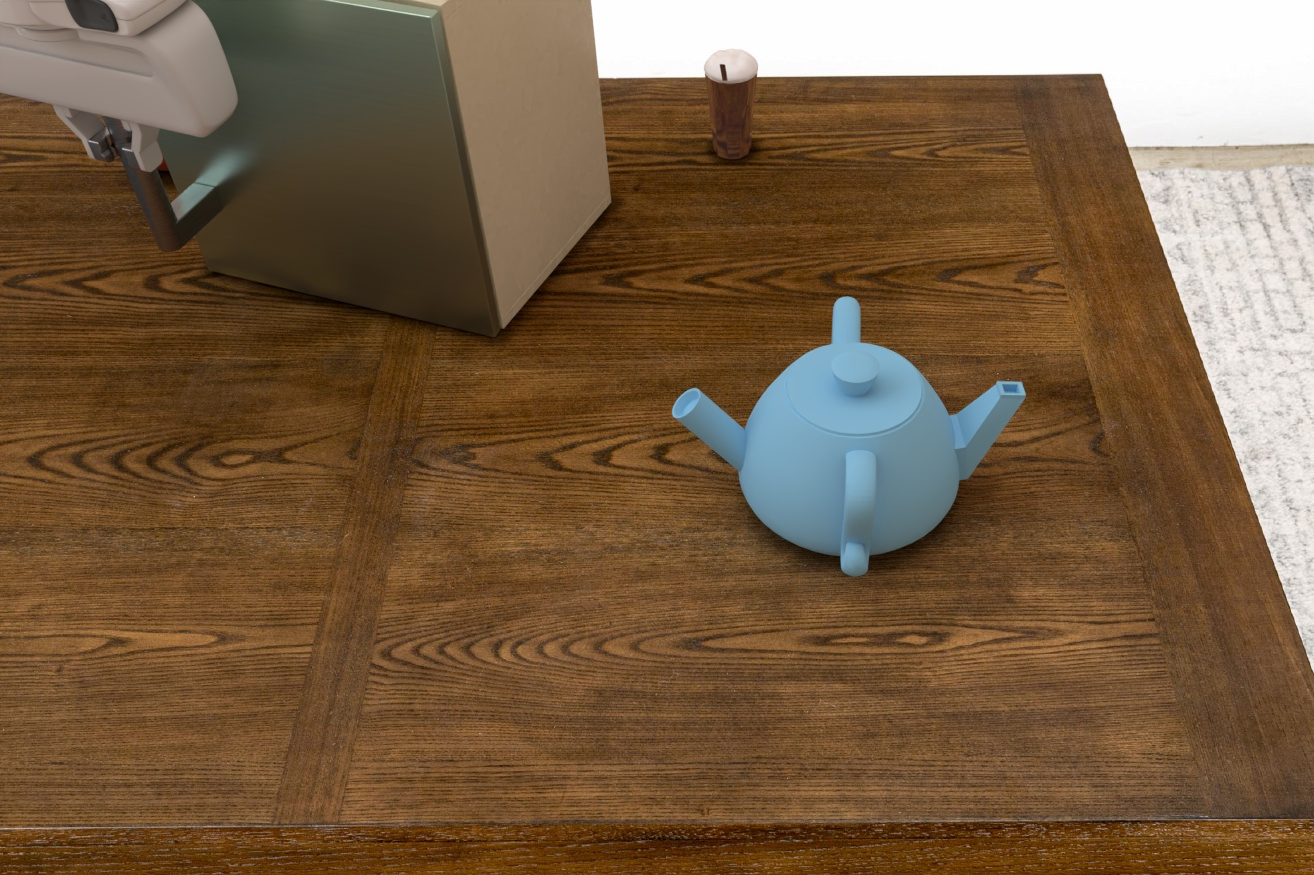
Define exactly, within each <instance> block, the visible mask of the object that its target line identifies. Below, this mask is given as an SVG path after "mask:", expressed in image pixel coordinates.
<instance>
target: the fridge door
mask: <svg viewBox="0 0 1314 875" xmlns="http://www.w3.org/2000/svg"><path fill="white" fill-rule="evenodd" d="M191 1H192V2H194V3H195V4H197V5H198V6H199V7H200V8H201V9H202V10H203V11H204V13H205V14H206V15H207V17H208V18H209V20H210V21H211V23H212V25H213V27H214V29H215V31H216V34H217V36H218V38H219V41H220V43H221V46H222V49H223V51H224V54H225V57H226V59H227V62H228V65H229V68H230V71H231V74H232V77H233V80H234V84H235V87H236V91H237V96H238V103H237V106H236V109H235V111H234V113H233V115H232V116H231V117H230V118H229V119H228V120H227V121H226V122H225V123H223V124H222V125H221V126H220V127H219V128H217V129H216V130H215V131H214V132H213V133H211V134H210V135H208V136H206V137H196V136H192V135H188V134H183V133H179V132H174V131H170V130H165V129H161V128H160V129H159V133H158V138H157V142H158V144H159V147H160V149H161V152H162V154H163V157H164V159H165V162H166V164H167V167H168V169H169V174H170V177H171V180H172V182H173V185H174V187H175V189H176V192H177V194H178V196H176V198H175V199H173V200H172V201H171V200H170V197H169V194H168V193H167V190H166V188H165V185H164V182H163V180H162V178H161V175H160V173H159V170H157V168H156V169H155V170H153V171H152V172H146V171H142V170H138V169H134V168H131V167H130V166H129V164H128V159H127V158H126V157H125V155H124V152H123V150H122V148H123V147H124V146H126V145H127V144H128V143H131V142H132V131H127V130H125V129H124V127H123V124H122V122H121V120H120V119H116V118H111V117H107V116H102V115H101V117H102V120H103V122H104V125H105V126H106V127H107V129H108V131H109V134H110V136H111V138H112V141H113V143H114V145H115V148H116V150H117V152H118V155H119V157H118V158H119V159H120V161H121V164H122V166H123V169H124V171H125V174H126V175H127V178H128V180H129V183H130V185H131V187H132V190H133V192H134V194H135V197H136V199H137V202H138V204H139V207H140V209H141V211H142V213H143V215H144V218H145V220H146V222H147V225H148V228H149V229H150V232H151V234H152V237H153V239H154V241H155V244H156V247H157V248H158V250H160V251H161V252H163V253H172V252H177V251H179V250H180V249H183V247H184V246H186V245H187V244H188V243H189V242H190V241H191V240H192V239H193V238H194V237H195V240H196V242H197V244H198V247H199V250H200V252H201V254H202V258H203V260H204V262H205V265H206V268H207V269H208V271H209V272H214V273H217V274H222V275H227V276H230V277H233V278H238V279H242V280H248V281H251V282H256V283H261V284H264V285H269V286H274V287H276V288H281V289H285V290H290V291H295V292H300V293H303V294H308V295H312V296H315V297H316V296H317V297H320V298H324V299H329V300H333V301H337V302H342V303H345V304H351V305H354V306H359V307H363V308H367V309H372V310H376V311H379V312H384V313H387V314H388V313H389V314H393V315H396V316H397V315H398V316H401V317H406V318H410V319H414V320H418V321H423V322H427V323H430V324H435V325H438V326H439V325H440V326H444V327H448V328H451V329H456V330H462V331H466V332H470V333H474V334H479V335H483V336H486V337H491V338H496V337H497V336H498V334H499V333H500V331H501V330H502V328H500V324H499V319H498V314H497V308H496V303H495V298H494V293H493V288H492V283H491V278H490V272H489V267H488V262H487V257H486V252H485V247H484V242H483V237H482V231H481V226H480V221H479V216H478V211H477V206H476V201H475V196H474V190H473V185H472V180H471V175H470V170H469V165H468V160H467V155H466V149H465V144H464V139H463V134H462V129H461V124H460V119H459V114H458V108H457V103H456V98H455V93H454V88H453V83H452V78H451V73H450V67H449V62H448V57H447V52H446V47H445V42H444V37H443V32H442V26H441V21H440V16H439V11H438V10H434V9H428V8H422V7H416V6H410V5H404V4H398V3H392V2H385V1H379V0H191Z"/></svg>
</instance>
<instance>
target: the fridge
mask: <svg viewBox="0 0 1314 875" xmlns="http://www.w3.org/2000/svg"><path fill="white" fill-rule="evenodd" d="M379 1H385V2H392V3H398V4H404V5H410V6H416V7H422V8H428V9H434V10H438V11H439V16H440V21H441V26H442V32H443V37H444V42H445V47H446V52H447V57H448V62H449V67H450V73H451V78H452V83H453V88H454V93H455V98H456V103H457V108H458V114H459V119H460V124H461V129H462V134H463V139H464V144H465V149H466V155H467V160H468V165H469V170H470V175H471V180H472V185H473V190H474V196H475V201H476V206H477V211H478V216H479V221H480V226H481V231H482V237H483V242H484V247H485V252H486V257H487V262H488V267H489V272H490V278H491V283H492V288H493V293H494V298H495V303H496V308H497V314H498V319H499V324H500V329H501V330H503V329H505V328H506V327H507V326H508V324H509V323H510V322H511V321H512V319H514V317H515V316H516V315H517V314H518V313H519V311H520V310H521V309H522V308H523V307H524V306H525V304H526V303H527V302H528V301H529V299H530V298H531V297H532V296H533V295H534V294H535V293H536V291H537V290H538V289H539V288H541V286H542V285H543V283H544V282H545V281H546V280H547V279H548V278H549V276H550V275H551V274H552V273H553V272H554V270H555V269H556V268H557V267H558V265H559V264H560V263H561V262H562V261H563V260H564V259H565V258H566V256H567V255H568V254H569V253H570V252H571V250H572V249H573V248H574V247H575V246H576V244H578V242H579V241H580V240H581V239H582V238H583V236H584V235H585V234H586V233H587V232H588V231H589V229H590V228H591V227H592V226H593V225H594V223H595V222H596V221H597V220H598V218H600V216H601V215H602V214H603V213H604V212H605V211H606V209H607V208H608V207H609V206H610V205H611V203H612V196H611V195H612V194H611V186H610V184H611V183H610V174H609V164H608V156H607V145H606V136H605V124H604V115H603V106H602V95H601V87H600V76H599V66H598V55H597V47H596V36H595V28H594V27H595V26H594V19H593V18H594V17H593V7H592V0H379Z"/></svg>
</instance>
